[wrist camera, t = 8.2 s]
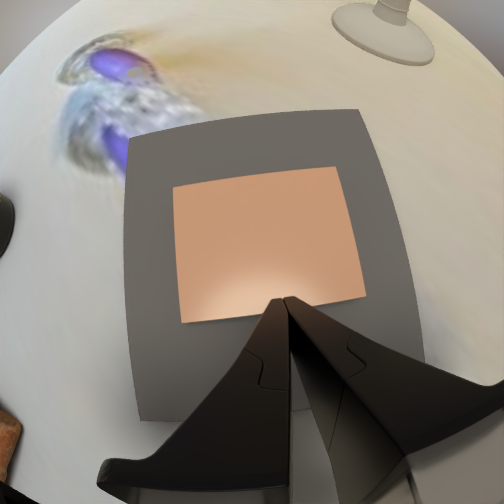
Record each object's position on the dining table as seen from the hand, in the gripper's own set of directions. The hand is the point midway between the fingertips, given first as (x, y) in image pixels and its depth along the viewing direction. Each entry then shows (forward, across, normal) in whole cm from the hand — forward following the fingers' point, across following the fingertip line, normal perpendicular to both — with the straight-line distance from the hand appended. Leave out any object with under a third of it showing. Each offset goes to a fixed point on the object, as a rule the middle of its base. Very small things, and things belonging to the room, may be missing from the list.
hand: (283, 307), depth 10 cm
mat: (+8, 0, -2) cm, 8 cm away
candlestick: (+25, +18, +15) cm, 34 cm away
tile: (+4, 0, -4) cm, 6 cm away
